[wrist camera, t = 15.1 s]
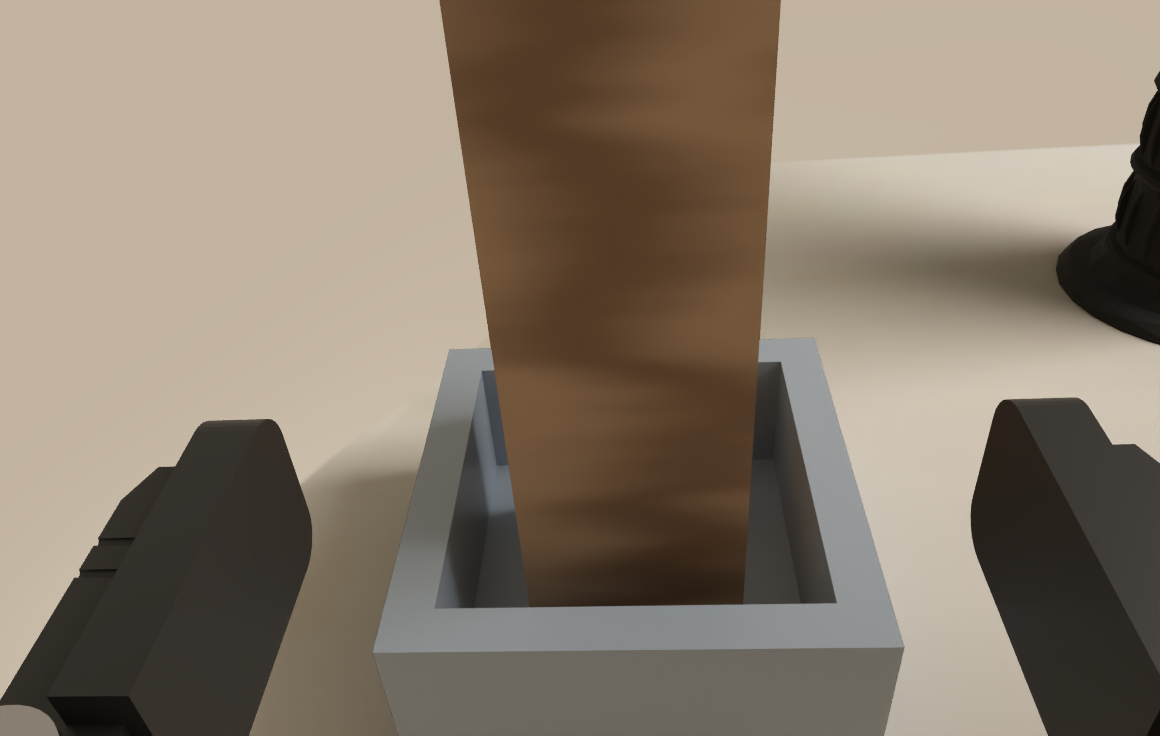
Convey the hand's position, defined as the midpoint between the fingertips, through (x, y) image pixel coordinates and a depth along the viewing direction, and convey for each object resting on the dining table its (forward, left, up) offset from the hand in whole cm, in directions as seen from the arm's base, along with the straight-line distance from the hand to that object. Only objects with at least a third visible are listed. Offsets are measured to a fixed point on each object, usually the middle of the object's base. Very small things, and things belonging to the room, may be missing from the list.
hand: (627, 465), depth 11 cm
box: (-5, -9, -15) cm, 18 cm away
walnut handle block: (-5, -9, -14) cm, 17 cm away
